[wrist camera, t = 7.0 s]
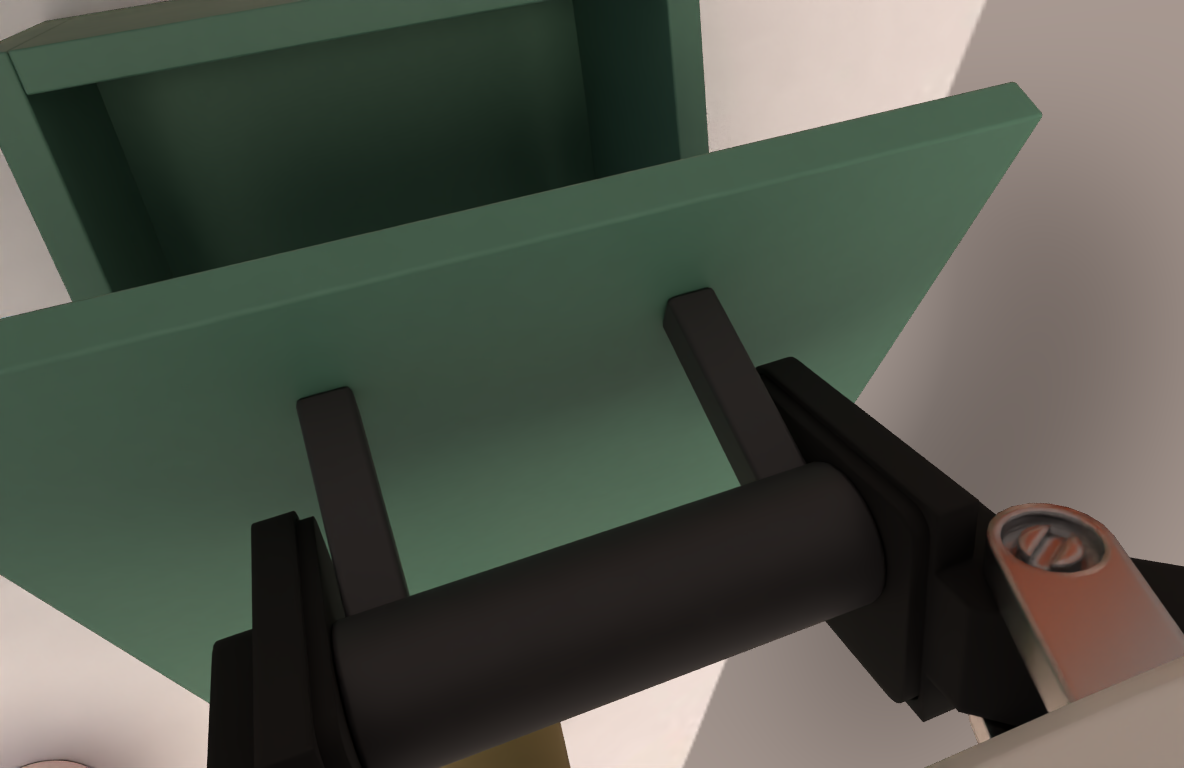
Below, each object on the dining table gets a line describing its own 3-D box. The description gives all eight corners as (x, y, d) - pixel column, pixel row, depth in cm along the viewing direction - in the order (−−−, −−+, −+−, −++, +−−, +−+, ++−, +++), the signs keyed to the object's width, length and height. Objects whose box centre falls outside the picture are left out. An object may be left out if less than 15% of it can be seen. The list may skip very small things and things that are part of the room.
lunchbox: (42, 21, 22) (-42, 59, 16) (581, -68, 26) (695, -67, 19) (261, 551, 31) (265, 717, 24) (642, 433, 34) (735, 551, 28)
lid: (-232, 370, 8) (-292, 992, 6) (1015, 78, 12) (1297, 406, 9) (262, 715, 24) (300, 925, 22) (736, 549, 28) (814, 716, 25)
